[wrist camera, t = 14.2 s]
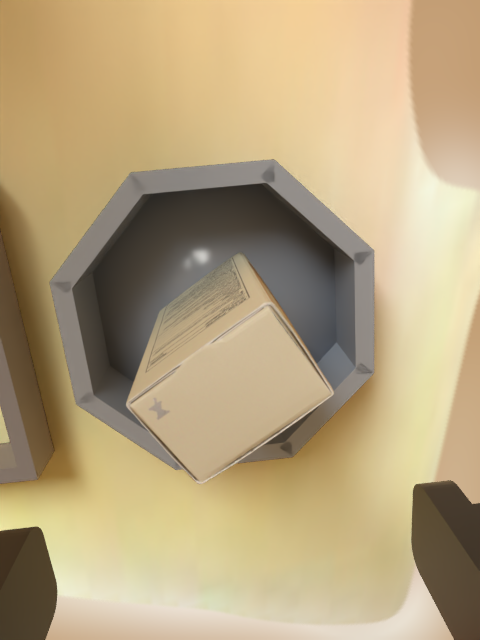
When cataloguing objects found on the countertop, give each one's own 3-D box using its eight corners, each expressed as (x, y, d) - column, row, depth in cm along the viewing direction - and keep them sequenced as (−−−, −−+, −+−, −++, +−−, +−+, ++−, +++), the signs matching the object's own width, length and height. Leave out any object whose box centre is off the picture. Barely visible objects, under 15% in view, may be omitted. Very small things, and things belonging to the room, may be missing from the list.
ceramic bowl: (62, 181, 25) (27, 182, 21) (344, 155, 26) (374, 150, 21) (111, 431, 30) (92, 479, 26) (349, 406, 31) (374, 448, 26)
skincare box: (201, 364, 28) (192, 495, 16) (156, 309, 27) (113, 409, 15) (287, 304, 27) (342, 397, 16) (245, 245, 26) (270, 299, 14)
